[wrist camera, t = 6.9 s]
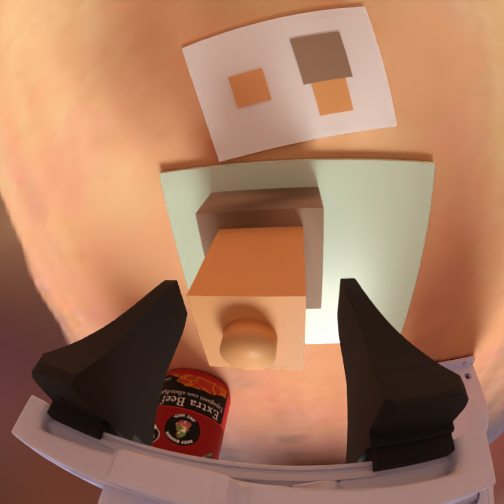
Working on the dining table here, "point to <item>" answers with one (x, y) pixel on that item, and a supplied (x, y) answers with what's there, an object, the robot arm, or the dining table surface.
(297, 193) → the base block
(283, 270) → the brick
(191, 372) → the canned food
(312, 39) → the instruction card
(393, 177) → the board
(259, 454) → the dining table surface
